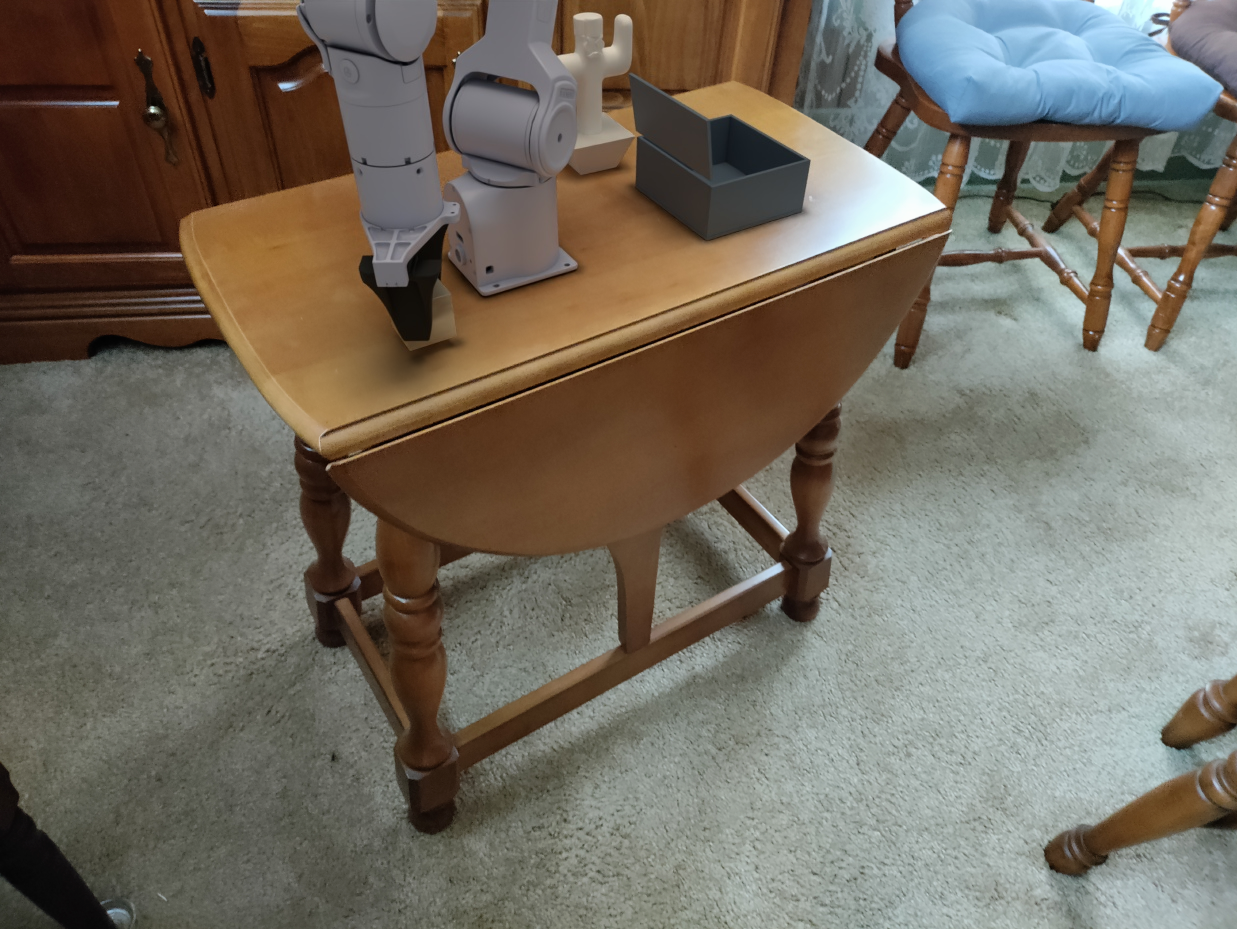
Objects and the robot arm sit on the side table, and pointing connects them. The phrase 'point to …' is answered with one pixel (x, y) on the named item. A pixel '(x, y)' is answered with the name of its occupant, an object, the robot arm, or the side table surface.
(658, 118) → the flap
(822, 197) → the side table surface
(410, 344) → the block
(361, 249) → the side table surface
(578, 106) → the figurine
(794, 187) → the carton
